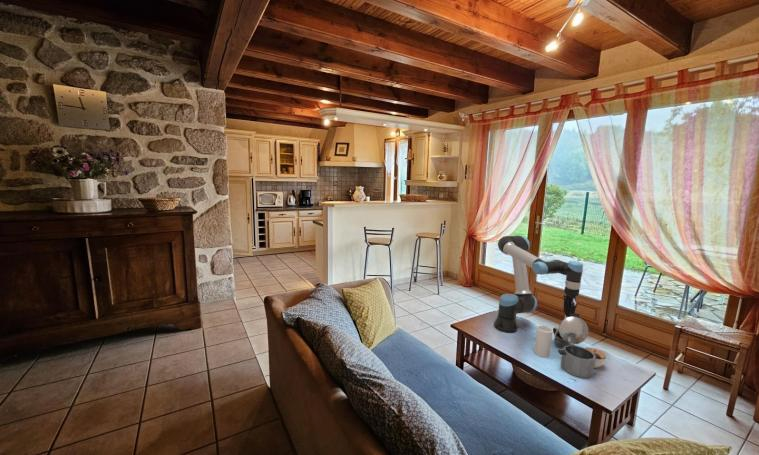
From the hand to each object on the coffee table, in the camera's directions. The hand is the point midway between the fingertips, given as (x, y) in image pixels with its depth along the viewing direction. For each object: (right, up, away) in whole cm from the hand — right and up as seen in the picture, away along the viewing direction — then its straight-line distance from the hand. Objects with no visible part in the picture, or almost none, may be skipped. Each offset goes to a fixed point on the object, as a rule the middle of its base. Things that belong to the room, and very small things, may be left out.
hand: (566, 325), depth 192 cm
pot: (-3, -20, -15) cm, 25 cm away
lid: (-1, +1, -9) cm, 9 cm away
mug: (+2, -16, +11) cm, 20 cm away
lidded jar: (+9, -20, -9) cm, 24 cm away
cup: (-15, -17, 0) cm, 23 cm away
